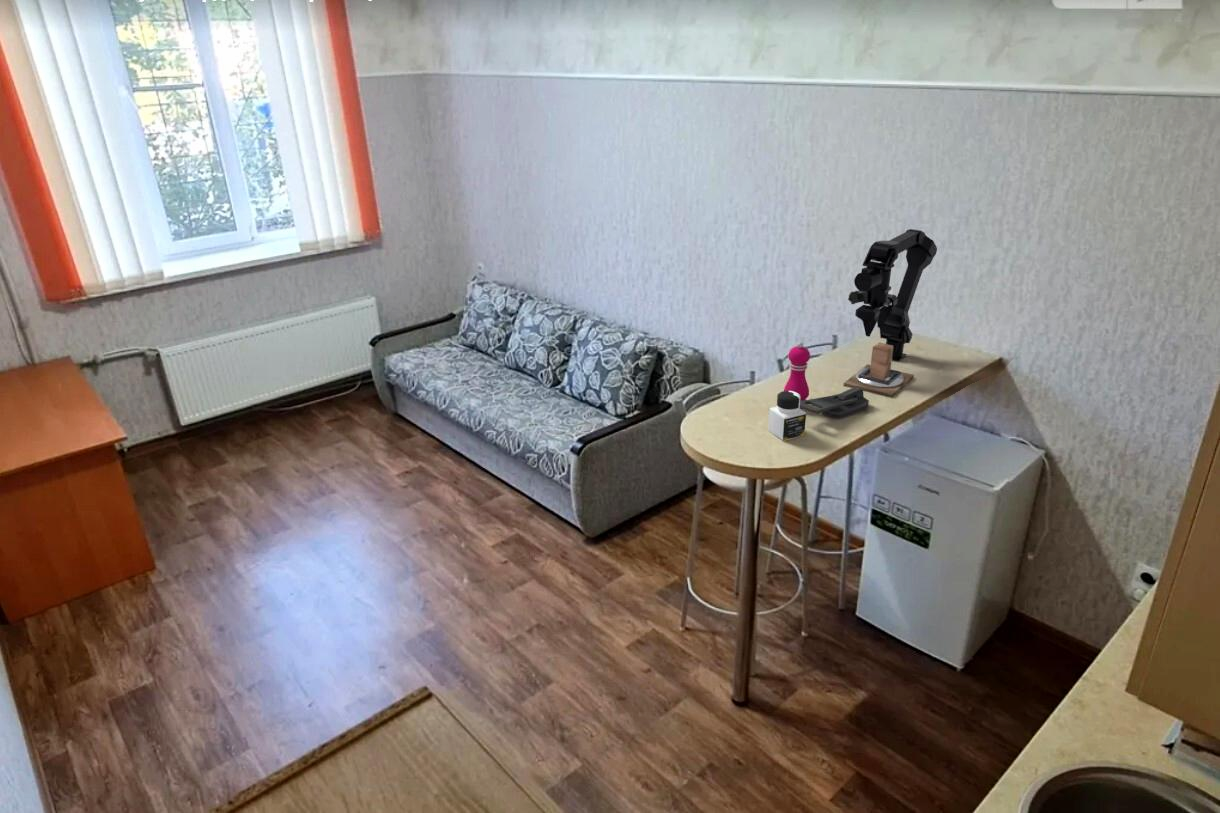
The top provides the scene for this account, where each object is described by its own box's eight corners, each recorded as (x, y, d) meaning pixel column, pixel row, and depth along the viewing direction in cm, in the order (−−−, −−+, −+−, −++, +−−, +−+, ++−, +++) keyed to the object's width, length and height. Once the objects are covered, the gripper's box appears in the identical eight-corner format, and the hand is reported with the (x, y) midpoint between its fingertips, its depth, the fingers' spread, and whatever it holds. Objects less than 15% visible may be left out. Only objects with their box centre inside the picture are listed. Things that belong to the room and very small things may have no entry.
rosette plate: (866, 366, 249) (867, 361, 248) (910, 376, 241) (910, 371, 240) (848, 381, 239) (848, 375, 238) (892, 392, 231) (893, 386, 230)
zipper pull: (792, 401, 215) (849, 377, 228) (790, 422, 218) (847, 397, 231) (818, 412, 209) (875, 386, 222) (816, 434, 211) (872, 407, 225)
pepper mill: (791, 398, 232) (796, 335, 223) (812, 405, 227) (818, 341, 218) (777, 406, 227) (782, 342, 219) (799, 413, 223) (804, 348, 214)
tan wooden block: (875, 372, 242) (879, 342, 238) (889, 375, 240) (893, 345, 235) (869, 376, 239) (872, 346, 235) (883, 380, 237) (887, 350, 232)
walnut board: (867, 367, 251) (867, 364, 250) (913, 377, 242) (913, 374, 242) (843, 385, 238) (843, 382, 238) (891, 397, 230) (891, 394, 229)
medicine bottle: (782, 441, 208) (785, 401, 203) (767, 430, 214) (770, 391, 209) (804, 436, 210) (808, 396, 205) (789, 425, 216) (792, 386, 211)
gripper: (866, 272, 247) (861, 318, 254) (841, 287, 234) (836, 335, 241) (901, 278, 241) (894, 325, 248) (877, 293, 228) (871, 342, 235)
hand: (873, 331), depth 243 cm, fingers open, 9 cm apart
